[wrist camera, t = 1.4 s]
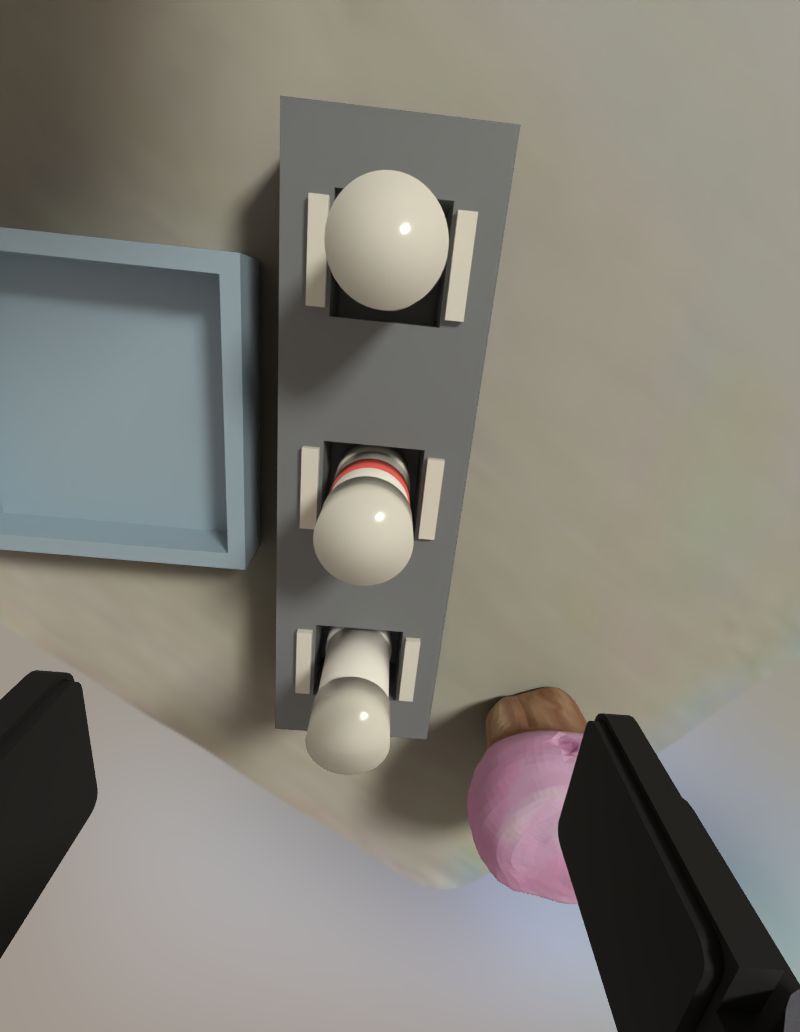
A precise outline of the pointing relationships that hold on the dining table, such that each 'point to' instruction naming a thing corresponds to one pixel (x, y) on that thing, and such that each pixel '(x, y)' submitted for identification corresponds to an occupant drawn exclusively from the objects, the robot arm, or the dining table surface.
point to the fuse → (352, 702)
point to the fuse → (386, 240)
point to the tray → (129, 400)
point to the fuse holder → (379, 384)
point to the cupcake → (526, 791)
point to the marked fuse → (366, 517)
